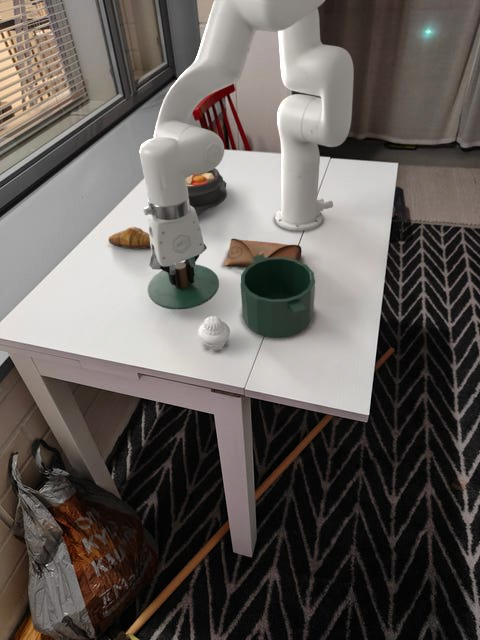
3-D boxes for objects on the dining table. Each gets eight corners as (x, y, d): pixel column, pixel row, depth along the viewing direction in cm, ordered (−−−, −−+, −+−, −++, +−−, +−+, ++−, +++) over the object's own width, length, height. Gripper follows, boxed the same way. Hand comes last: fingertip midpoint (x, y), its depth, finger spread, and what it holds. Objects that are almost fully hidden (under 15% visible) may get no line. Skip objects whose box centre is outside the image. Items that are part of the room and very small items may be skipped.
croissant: (162, 239, 122) (159, 223, 119) (154, 253, 117) (150, 237, 114) (115, 236, 125) (111, 220, 121) (105, 250, 120) (100, 233, 116)
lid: (206, 261, 109) (203, 239, 105) (229, 299, 98) (227, 275, 94) (141, 279, 105) (136, 256, 101) (158, 320, 94) (153, 296, 90)
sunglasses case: (221, 266, 111) (224, 238, 109) (229, 264, 117) (231, 237, 116) (296, 274, 107) (299, 245, 105) (300, 271, 113) (302, 244, 112)
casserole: (208, 227, 126) (205, 199, 120) (148, 218, 131) (142, 190, 125) (240, 186, 143) (238, 160, 137) (186, 180, 148) (182, 154, 143)
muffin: (224, 358, 89) (221, 332, 84) (195, 352, 90) (190, 325, 86) (235, 337, 93) (233, 311, 88) (207, 331, 95) (204, 305, 90)
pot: (287, 279, 106) (288, 244, 100) (332, 333, 92) (336, 296, 86) (228, 296, 103) (225, 261, 96) (265, 356, 89) (264, 319, 82)
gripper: (138, 227, 83) (156, 305, 95) (216, 201, 89) (223, 278, 101) (123, 211, 88) (142, 287, 100) (198, 187, 94) (207, 262, 106)
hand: (182, 282), depth 100 cm, fingers closed on lid, 2 cm apart
